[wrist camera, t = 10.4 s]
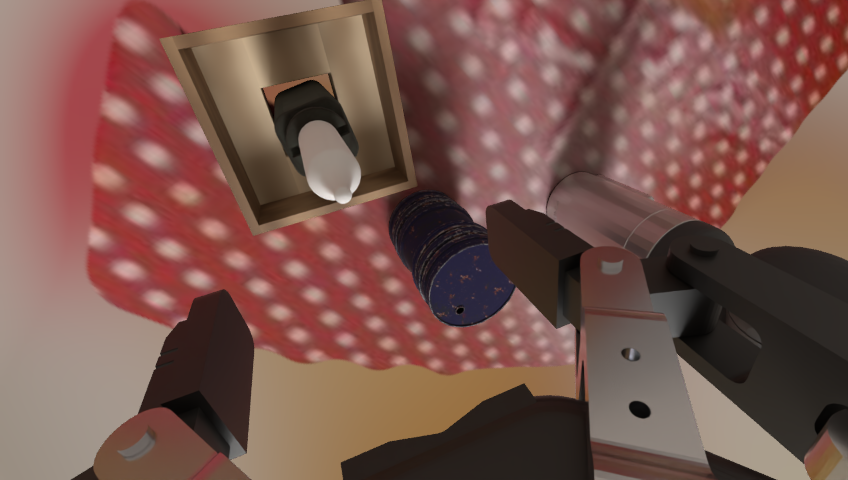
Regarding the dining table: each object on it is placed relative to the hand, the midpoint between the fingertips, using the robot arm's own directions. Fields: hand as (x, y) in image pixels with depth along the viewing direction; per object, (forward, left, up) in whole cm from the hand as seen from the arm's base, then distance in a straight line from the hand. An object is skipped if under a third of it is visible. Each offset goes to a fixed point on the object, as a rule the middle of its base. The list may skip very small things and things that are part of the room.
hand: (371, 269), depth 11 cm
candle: (0, 0, -32) cm, 32 cm away
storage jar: (-10, +17, -32) cm, 38 cm away
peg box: (0, 0, -32) cm, 32 cm away
